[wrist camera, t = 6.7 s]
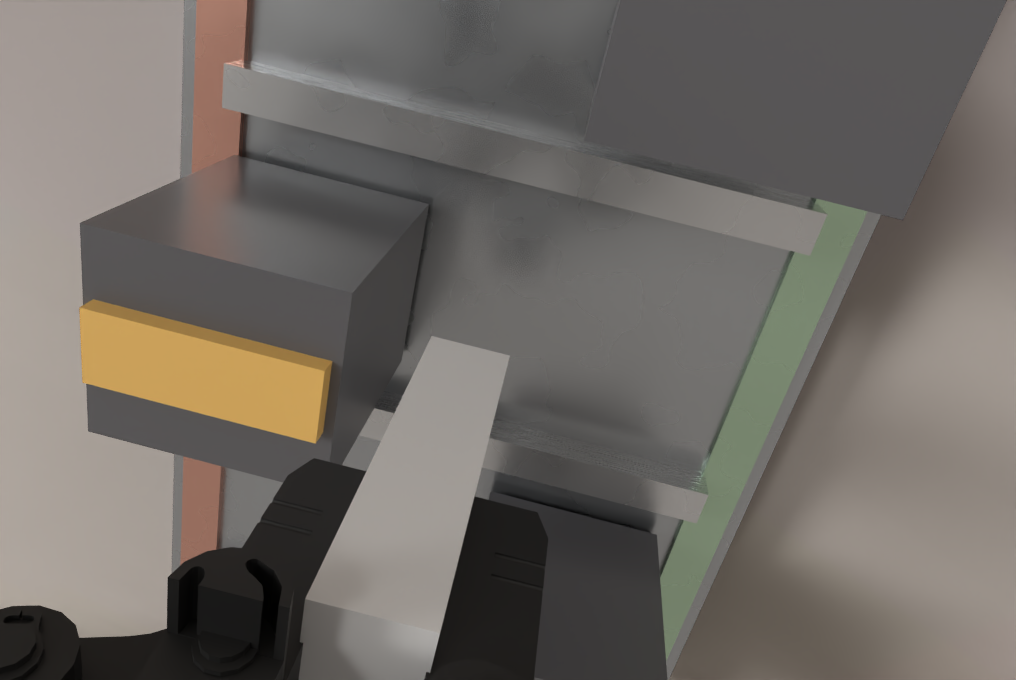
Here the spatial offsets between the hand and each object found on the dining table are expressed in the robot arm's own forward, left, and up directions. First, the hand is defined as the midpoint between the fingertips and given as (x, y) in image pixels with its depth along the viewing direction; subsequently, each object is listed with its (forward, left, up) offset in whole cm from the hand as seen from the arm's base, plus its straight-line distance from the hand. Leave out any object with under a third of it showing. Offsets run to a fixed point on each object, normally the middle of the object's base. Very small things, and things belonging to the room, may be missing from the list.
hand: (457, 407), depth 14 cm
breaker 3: (+4, +8, -6) cm, 10 cm away
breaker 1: (-5, 0, -6) cm, 7 cm away
